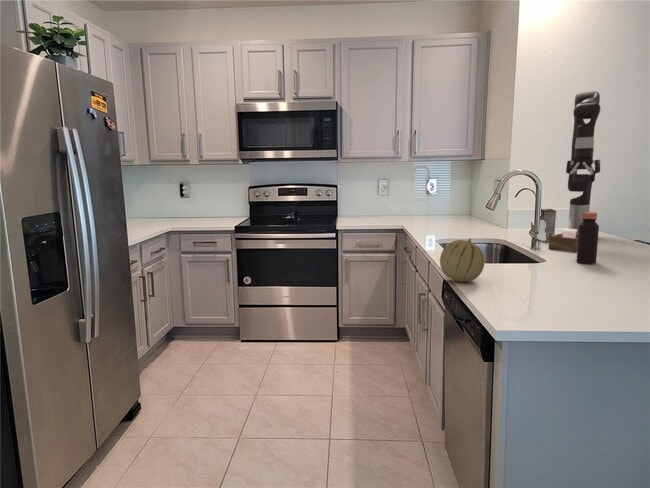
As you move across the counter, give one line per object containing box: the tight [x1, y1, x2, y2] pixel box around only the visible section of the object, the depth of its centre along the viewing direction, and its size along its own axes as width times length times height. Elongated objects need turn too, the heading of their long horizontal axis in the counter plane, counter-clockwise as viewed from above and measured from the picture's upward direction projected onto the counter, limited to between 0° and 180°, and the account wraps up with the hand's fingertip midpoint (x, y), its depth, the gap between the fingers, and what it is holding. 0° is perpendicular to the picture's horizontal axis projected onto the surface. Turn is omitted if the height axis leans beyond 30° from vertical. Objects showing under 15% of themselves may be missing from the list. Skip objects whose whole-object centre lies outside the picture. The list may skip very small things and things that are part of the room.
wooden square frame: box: [548, 232, 578, 253], centre depth 201 cm, size 12×12×6 cm
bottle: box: [575, 211, 600, 265], centre depth 171 cm, size 7×7×20 cm
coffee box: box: [540, 208, 557, 243], centre depth 224 cm, size 9×6×16 cm
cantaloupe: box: [439, 238, 485, 283], centre depth 149 cm, size 15×15×15 cm
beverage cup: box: [561, 219, 577, 238], centre depth 200 cm, size 6×6×14 cm
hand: (581, 182), depth 205 cm, fingers open, 8 cm apart
